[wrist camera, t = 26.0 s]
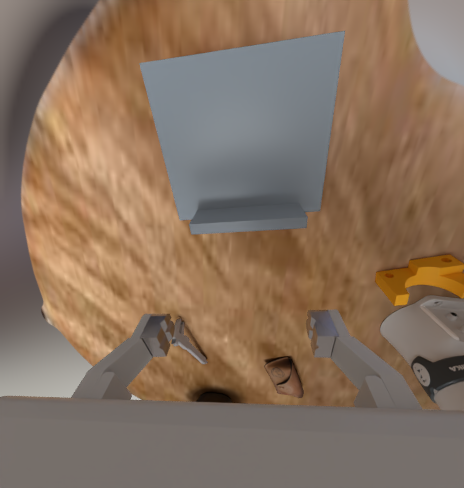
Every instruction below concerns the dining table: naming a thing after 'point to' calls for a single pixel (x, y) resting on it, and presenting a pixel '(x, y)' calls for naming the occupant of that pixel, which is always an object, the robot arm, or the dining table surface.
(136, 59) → the dining table surface
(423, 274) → the pipe clamp
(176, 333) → the caliper
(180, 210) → the lid
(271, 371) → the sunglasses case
